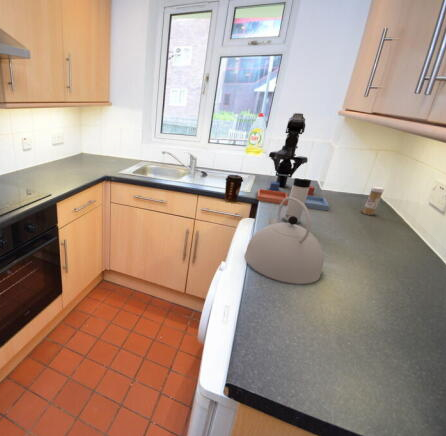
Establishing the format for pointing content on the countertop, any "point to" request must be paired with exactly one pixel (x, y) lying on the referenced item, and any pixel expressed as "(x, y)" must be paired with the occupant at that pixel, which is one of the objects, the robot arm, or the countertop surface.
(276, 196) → the terracotta tray
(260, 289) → the countertop surface
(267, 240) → the kettle
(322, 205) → the blue tray
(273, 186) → the slate-blue block
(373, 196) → the sprinkles bottle
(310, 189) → the terracotta block
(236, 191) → the coffee cup
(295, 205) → the travel mug
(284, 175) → the robot arm
